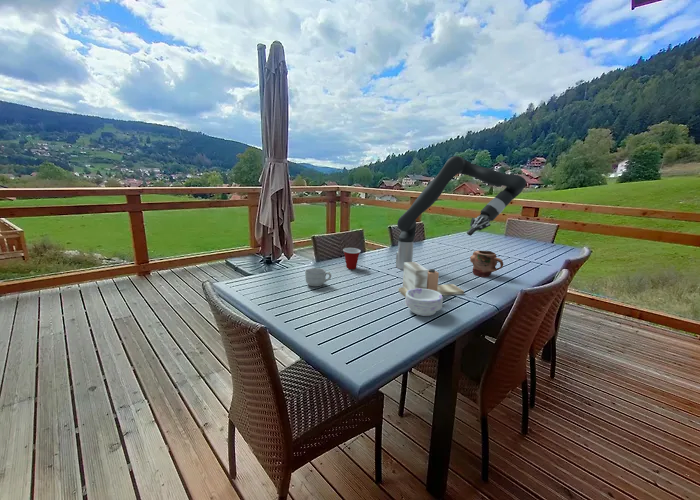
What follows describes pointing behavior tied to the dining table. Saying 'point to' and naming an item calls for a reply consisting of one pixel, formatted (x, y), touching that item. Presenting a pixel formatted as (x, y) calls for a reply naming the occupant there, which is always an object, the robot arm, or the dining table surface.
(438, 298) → the white bowl
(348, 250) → the plastic cup
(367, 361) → the dining table surface
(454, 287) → the press housing
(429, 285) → the tan small carton
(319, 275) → the teacup
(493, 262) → the brown ceramic mug
